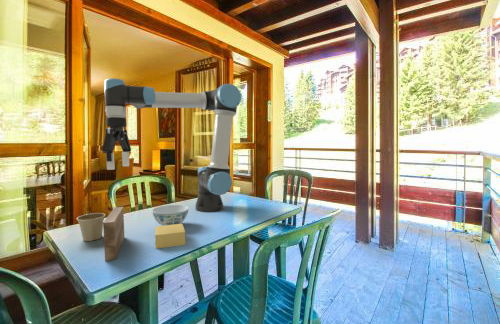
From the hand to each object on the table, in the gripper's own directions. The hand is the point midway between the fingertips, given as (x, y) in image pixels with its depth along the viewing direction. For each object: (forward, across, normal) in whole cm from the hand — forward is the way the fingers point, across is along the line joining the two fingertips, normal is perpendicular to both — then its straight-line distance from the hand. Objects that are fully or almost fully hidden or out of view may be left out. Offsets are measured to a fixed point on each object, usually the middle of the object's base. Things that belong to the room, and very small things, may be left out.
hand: (118, 167), depth 111 cm
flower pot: (+26, +13, -5) cm, 29 cm away
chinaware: (+26, 0, +21) cm, 34 cm away
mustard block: (+26, +18, +25) cm, 40 cm away
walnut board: (+26, +23, +8) cm, 35 cm away
